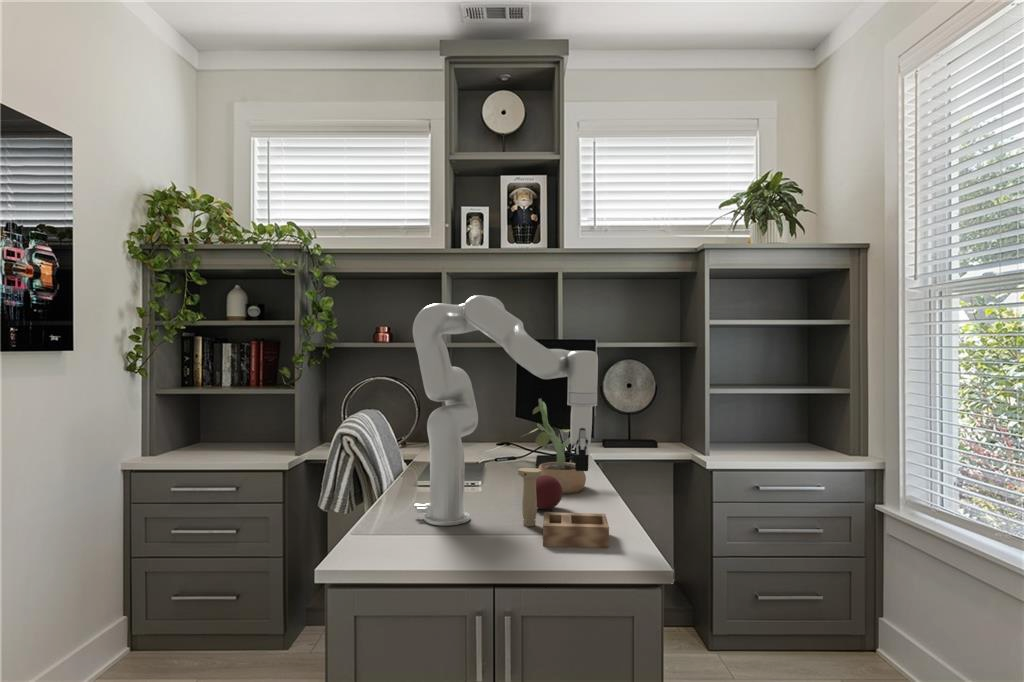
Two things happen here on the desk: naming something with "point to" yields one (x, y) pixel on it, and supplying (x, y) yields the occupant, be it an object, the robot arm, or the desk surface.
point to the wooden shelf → (575, 530)
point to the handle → (529, 494)
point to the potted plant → (560, 469)
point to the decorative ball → (548, 492)
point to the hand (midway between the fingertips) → (581, 466)
